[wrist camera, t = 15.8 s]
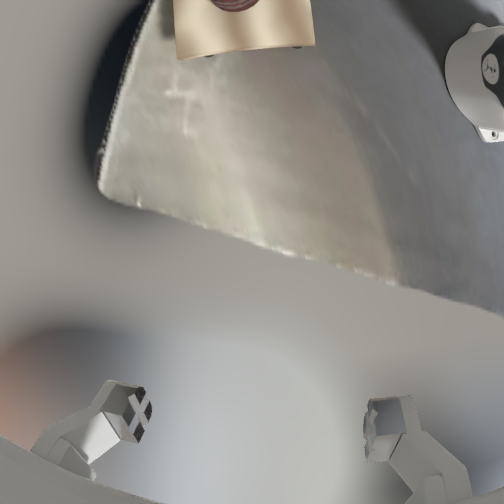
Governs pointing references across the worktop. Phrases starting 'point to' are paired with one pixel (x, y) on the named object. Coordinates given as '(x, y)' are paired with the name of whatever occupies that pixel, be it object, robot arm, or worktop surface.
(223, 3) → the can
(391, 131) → the worktop surface
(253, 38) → the small table
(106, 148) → the worktop surface
